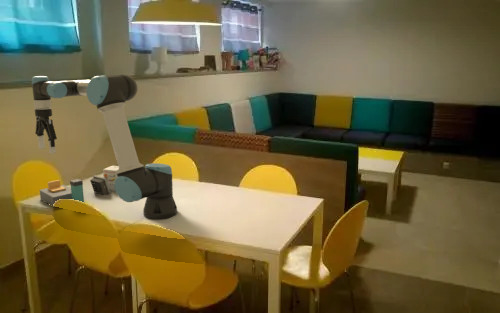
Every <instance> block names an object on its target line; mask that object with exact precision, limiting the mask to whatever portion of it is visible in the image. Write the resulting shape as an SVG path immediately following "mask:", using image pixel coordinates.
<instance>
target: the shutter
mask: <svg viewBox="0 0 500 313" xmlns="http://www.w3.org/2000/svg"><path fill="white" fill-rule="evenodd" d="M47 188H48V190H49V191H51V192H58V191H63V190H66V188H64V187H62V186H61V180H60V179H57V180H52V181H47Z"/></svg>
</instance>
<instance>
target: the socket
mask: <svg viewBox="0 0 500 313" xmlns="http://www.w3.org/2000/svg"><path fill="white" fill-rule="evenodd" d="M60 186H62V187H64V188H66V190H63V191H58V192H51V191H49V190H48V187H46V188H42V189H39V197H40V200H41V201H42V200H43V202H44V201H45V202H44V203H46V204H47V203H48V204H47V205H49V204H50V205H49V206H51V205H52V206H53V204H54V203H55V201H57V200H59V199H72V194H71V187H69V186H68V185H67V186H66V185H65V184H62V185H61V184H60ZM52 206H51V207H52Z"/></svg>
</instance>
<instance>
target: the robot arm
mask: <svg viewBox="0 0 500 313" xmlns="http://www.w3.org/2000/svg"><path fill="white" fill-rule="evenodd" d="M31 86H32V87H31V89H32V95H33V97H32V98H33V107H34V115H35V118H36V123H35V124H36V125H35V135H36V136H37V141H38V142H37V143H38V149H39V150H43V149H46V145H45V144H46V143H45V134H44V132H46V135H47V138H48V139H47V141H48V149H49V150H48V151H49V154H50V155H51V154H56V153H57V150H56V140H57V134H56V131H55V126H54V123H53V122H54V121H53V119H50V117H52V116H53V110H52V102H53V101H52V99H62V98H67V97H80V96H81V97H84V96H85V97H87V100H88V101H89V102H90V103H91V104H92V105H93V106H96V108H97V111H98V112H100V113H101V114H102V115H103V119H104V123H105V126H106V128H107V132H108V136H109V140H110V143H111V145H112V150H113V153H114V156H115V159H116V162H117V166H119V170H118V172H117V176H118V178H117V179H116V180H115V184H114V187H115V191H114V192H115V193H116V195H117V197H119V198H120V199H121V200H122V201H124V202H125V203H133V202H137V201H141V200H143V199H145V198H146V199H145V203H144V207H143V212H142V213H143V216H144V217H145V218H147V219H150V220H151V219H152V220H164V219H169V218H172V217H174V216H176V215H177V213H178V207H177V204H176V201H175V199H174V193H173V171H172V167H171V165H169V164H167V163H166V164H164V163H157V162H156V163H154V162H152V163H146V164H145V166H144V164H142V163H141V162H140V161H139V157H138V154H137V150H136V147H135V143H134V140H133V137H132V134H131V129H130V127H129V123H128V119H127V116H126V113H125V110H124V109H125V108H124V107H125V106H126V104H127V103H126V102H129V101H131V100H132V99H134V98H135V97H136V96H137V93H138V91H139V90H138V88H139V86H138V84H137V81H136V80H135V79H134V78H133V77H132V76H129V75H127V74H108V75H105V74H102V75H96V76H95V75H94V76H93V77H91V79H77V80H75V79H74V80H59V81H57V80H56V81H51V80H50V79H49V77H48V76H45V75H37V76H32V78H31ZM51 98H52V99H51Z"/></svg>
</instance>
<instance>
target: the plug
mask: <svg viewBox="0 0 500 313" xmlns="http://www.w3.org/2000/svg"><path fill="white" fill-rule="evenodd" d="M83 181H84V180H82V179H80V178H75V179H72V180H69V184H70V188H71V194H72V199H74V200H79V201H82V202H84V203H85V200H84V199H85V197H84V188H83V186H84V185H83Z"/></svg>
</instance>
